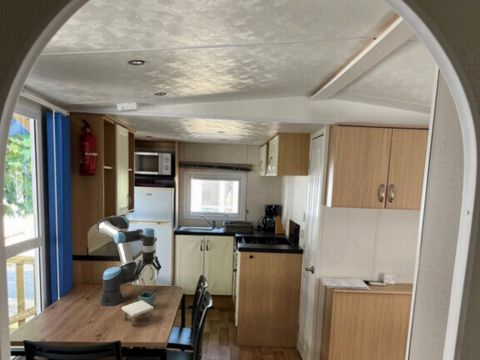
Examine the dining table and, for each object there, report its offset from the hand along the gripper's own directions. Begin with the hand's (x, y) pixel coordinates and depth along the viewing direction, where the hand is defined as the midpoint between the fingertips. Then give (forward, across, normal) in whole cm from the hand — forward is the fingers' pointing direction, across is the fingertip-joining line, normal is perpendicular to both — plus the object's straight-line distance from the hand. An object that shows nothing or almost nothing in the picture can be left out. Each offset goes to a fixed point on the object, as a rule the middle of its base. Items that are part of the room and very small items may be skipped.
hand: (147, 281), depth 196 cm
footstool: (+18, -13, -11) cm, 25 cm away
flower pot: (+18, 0, 0) cm, 18 cm away
